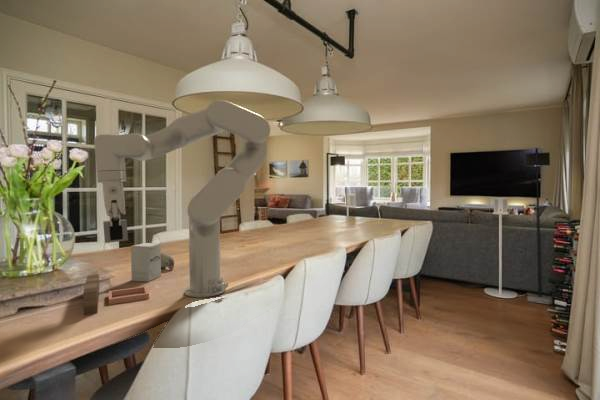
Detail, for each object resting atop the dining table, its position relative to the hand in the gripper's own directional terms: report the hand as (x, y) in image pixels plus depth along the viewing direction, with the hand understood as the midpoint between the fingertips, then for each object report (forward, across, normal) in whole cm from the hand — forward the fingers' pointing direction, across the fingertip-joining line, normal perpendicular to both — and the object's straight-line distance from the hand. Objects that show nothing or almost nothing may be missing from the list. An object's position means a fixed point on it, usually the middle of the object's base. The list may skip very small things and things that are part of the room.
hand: (116, 238), depth 101 cm
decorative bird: (+19, +35, -16) cm, 43 cm away
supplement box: (+19, +20, -9) cm, 29 cm away
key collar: (+19, 0, -2) cm, 19 cm away
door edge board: (+18, 0, +7) cm, 20 cm away
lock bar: (+1, 0, 0) cm, 1 cm away
